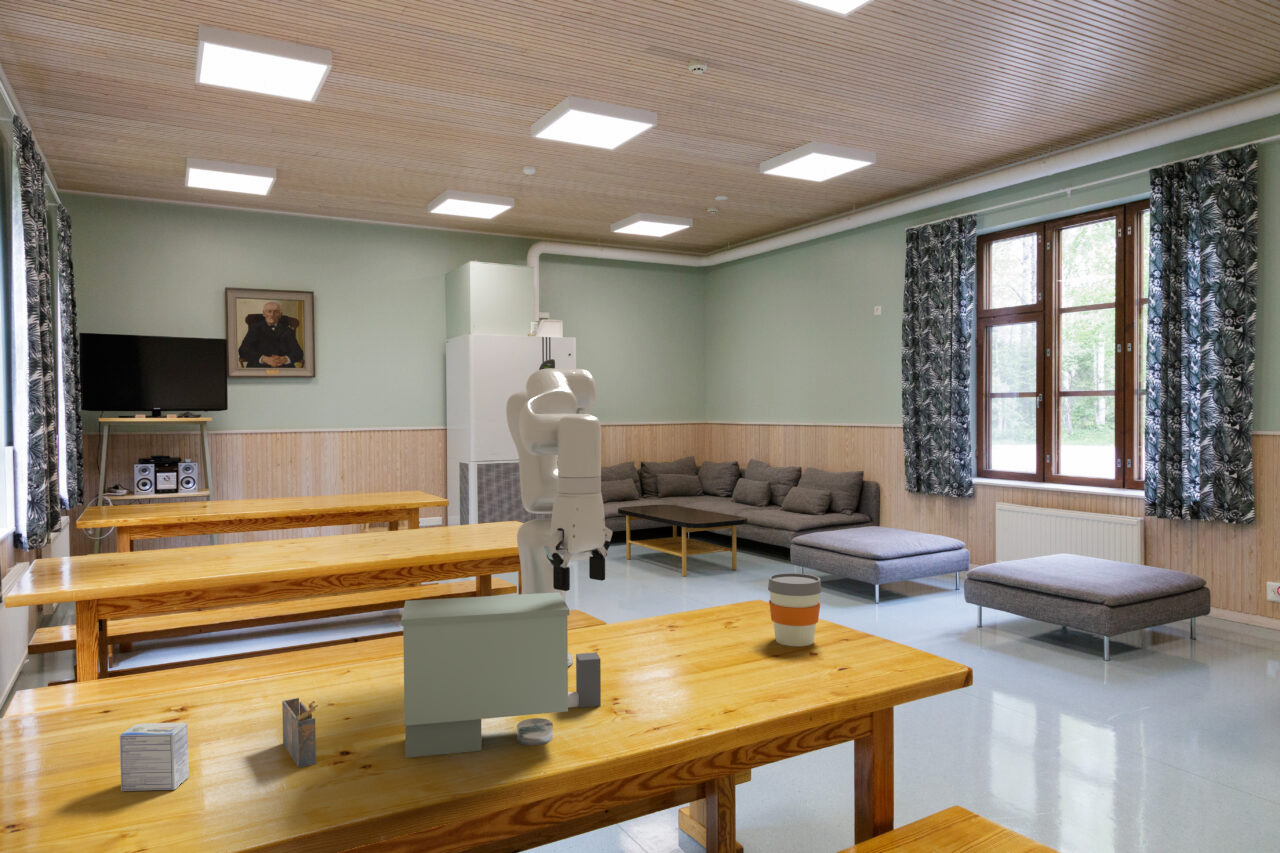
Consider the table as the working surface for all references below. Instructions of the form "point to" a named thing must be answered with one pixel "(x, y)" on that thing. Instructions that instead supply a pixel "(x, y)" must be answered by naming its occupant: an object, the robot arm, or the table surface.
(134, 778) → the medicine box
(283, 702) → the weathered grey open box
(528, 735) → the steel token
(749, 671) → the table surface
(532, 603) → the cabinet
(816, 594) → the reusable coffee cup
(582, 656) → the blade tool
